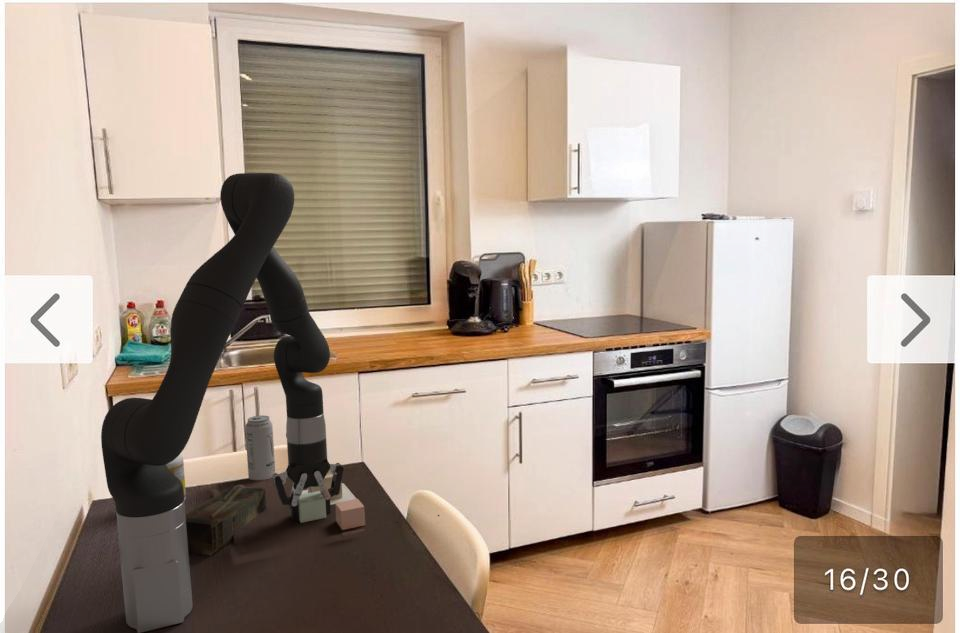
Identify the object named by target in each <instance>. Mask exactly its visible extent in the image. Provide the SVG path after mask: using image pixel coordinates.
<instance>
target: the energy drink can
mask: <svg viewBox="0 0 960 633" xmlns="http://www.w3.org/2000/svg"><path fill="white" fill-rule="evenodd" d="M245 442H246V459H247V472H248V473H247V474H248V480H251V481H266V480H268V479H271V478H272V479H273V474H275V473H276V464H275V463H276V462H275V461H276V460H275V448H274V447H275V446H274V430H273V423H272V421H271V420H270V416H268V415H255V416H251V417H248V418H247V422H246V424H245Z"/></svg>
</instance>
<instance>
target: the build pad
mask: <svg viewBox="0 0 960 633" xmlns="http://www.w3.org/2000/svg"><path fill="white" fill-rule="evenodd" d="M306 493H308V489H303V491H302V494H306ZM353 499H357V497H356V496H355V495H354V494H353V493H352V492H351V490H350V489H349V488H348V487H347V486H346V484H345V483H342V498H339V499H334V500H330V506H331V505H335V503H338V502H343V501H348V500H353Z"/></svg>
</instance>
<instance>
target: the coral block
mask: <svg viewBox="0 0 960 633" xmlns="http://www.w3.org/2000/svg"><path fill="white" fill-rule="evenodd" d="M334 505H335V520H336V521H335V522H336V523H337V525H338V526H339V527H340V529H341V531H344V532H341V533H340V534H341V536H342V537H344V535H345V536H349V535H348V534H350V535H354V534H358V533H363V531H364V532H366V527H364V528H363V527H362V526H366V513H365V511H366V510H365V506H364V505H363V503H362V502H361V501H360V500H359V498H356V499H353V500H348V501H343V502H338V503H335V504H334ZM359 527H362V528H359ZM353 528H359V529H355V530H350V531H345V530H349V529H353Z"/></svg>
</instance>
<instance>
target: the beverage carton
mask: <svg viewBox="0 0 960 633" xmlns="http://www.w3.org/2000/svg"><path fill="white" fill-rule="evenodd" d="M266 500H267V499H266V489H265V488H261V487H251V486H249V487H248V486H245V485H242V484H237V485H234V486H231V487H230V488H228V489H226V490H225V491H223V492H221V493H219V494H218V495H216V496H214V497H212V498H211V499H209V500H208V501H205V502H204V503H202V504H200V505H199V506H197V507H196V508H194V509H193V510H190V511H189V512H187V513H185V514H186V528H187V541H188V553H189V554H195V555H203V556H208V557H209V556H212V555H214V554H215V553H216V552H218V551H219V550H220V549H222V548H223V547H224V546H226V545H227V544H228V543H230V542H231V541H233V540H234V539H235V538H234V534H235V533H237V532H238V531H240V530H241V529H242V528H244V527H245V526H247V525H248V524H249V523H250V522H251V521H252V520H253V519H255V518H256V517H257V516H258V515H260V514H261V513H262V512H265V511H266V510H267V501H266Z"/></svg>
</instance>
